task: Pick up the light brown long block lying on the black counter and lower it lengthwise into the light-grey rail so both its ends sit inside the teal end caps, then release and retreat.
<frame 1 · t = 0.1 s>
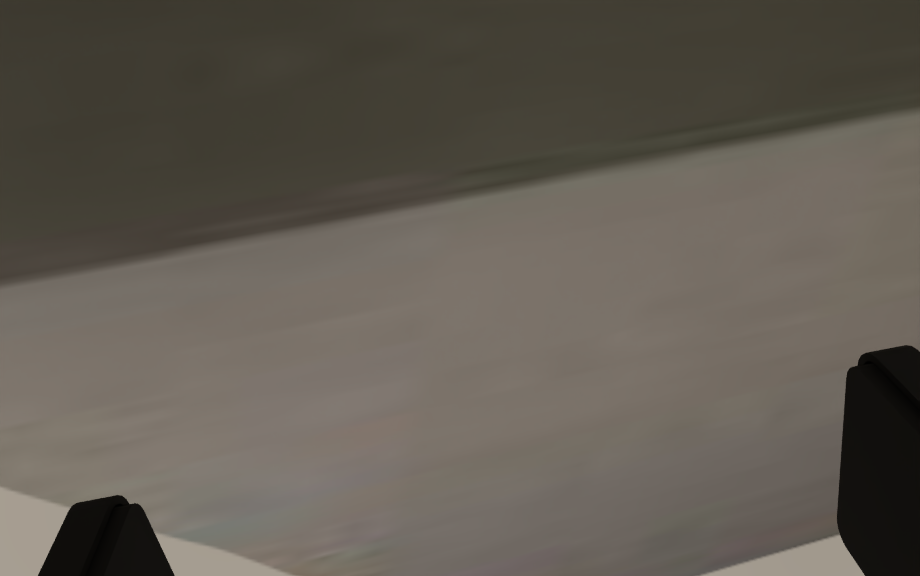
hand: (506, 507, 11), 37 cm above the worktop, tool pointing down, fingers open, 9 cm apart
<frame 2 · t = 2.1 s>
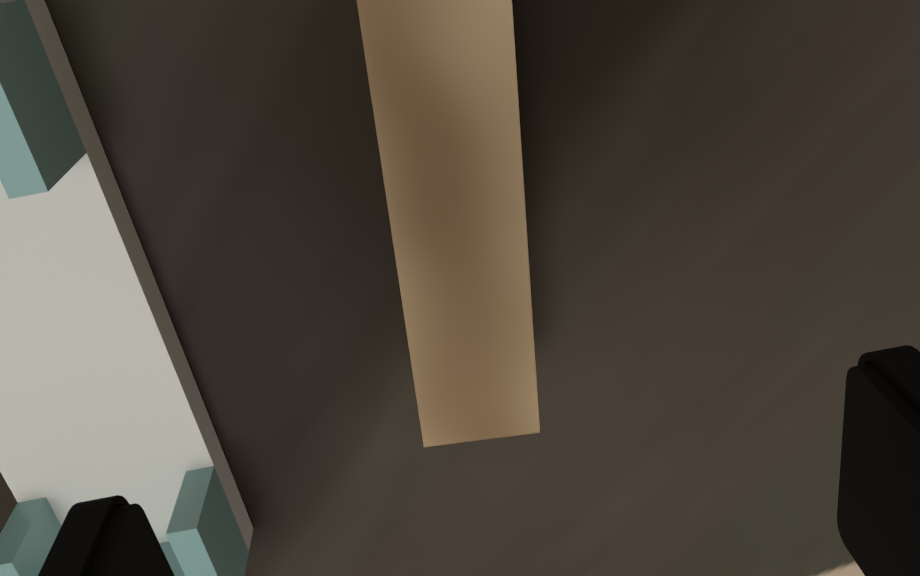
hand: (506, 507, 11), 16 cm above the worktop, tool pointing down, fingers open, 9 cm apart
light brown long block: (443, 131, 25), on the worktop
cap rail: (61, 327, 27), on the worktop
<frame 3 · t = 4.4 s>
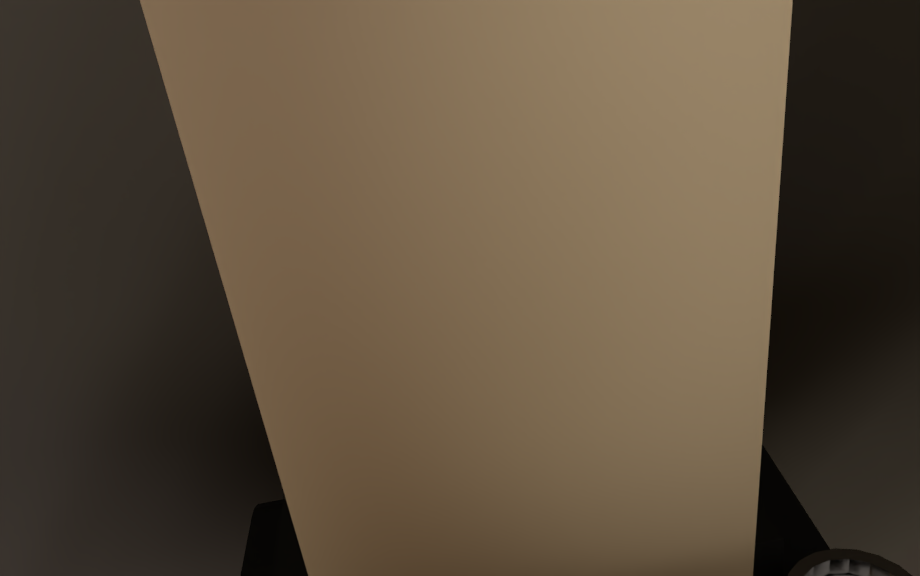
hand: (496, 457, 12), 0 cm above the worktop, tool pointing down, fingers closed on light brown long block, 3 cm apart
light brown long block: (494, 440, 12), on the worktop, touching gripper
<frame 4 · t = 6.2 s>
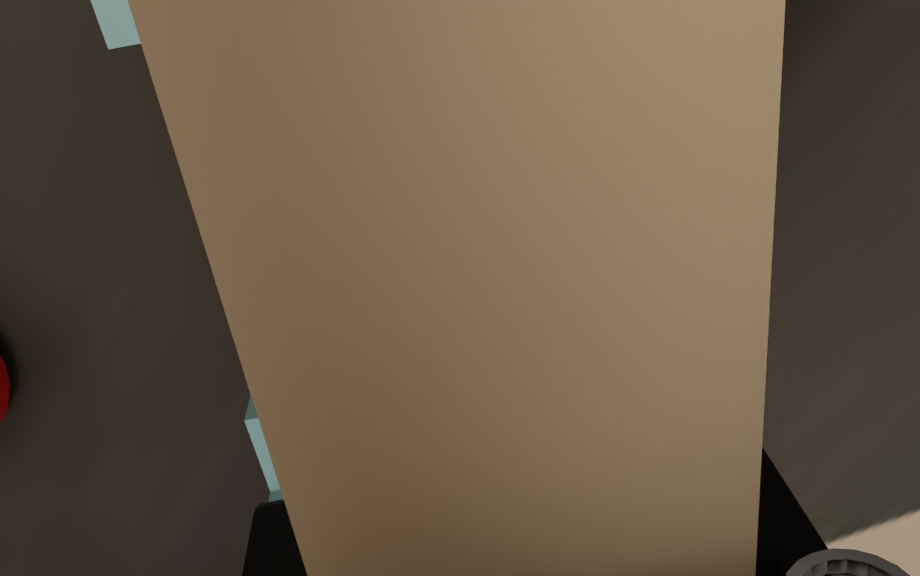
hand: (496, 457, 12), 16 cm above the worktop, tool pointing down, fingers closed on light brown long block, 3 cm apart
light brown long block: (497, 442, 12), point 16 cm above the worktop, touching gripper
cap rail: (319, 180, 27), on the worktop
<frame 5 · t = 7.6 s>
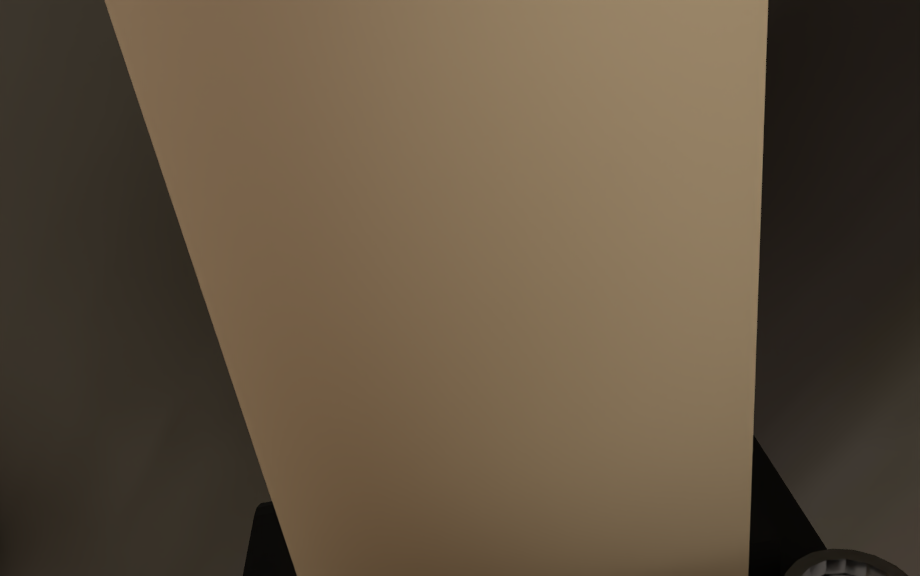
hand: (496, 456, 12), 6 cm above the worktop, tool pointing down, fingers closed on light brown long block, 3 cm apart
light brown long block: (494, 445, 12), point 6 cm above the worktop, touching gripper
when the fingers open (3 cm above the worktop, at t = 8.6 s): light brown long block stays where it is, resting on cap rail.
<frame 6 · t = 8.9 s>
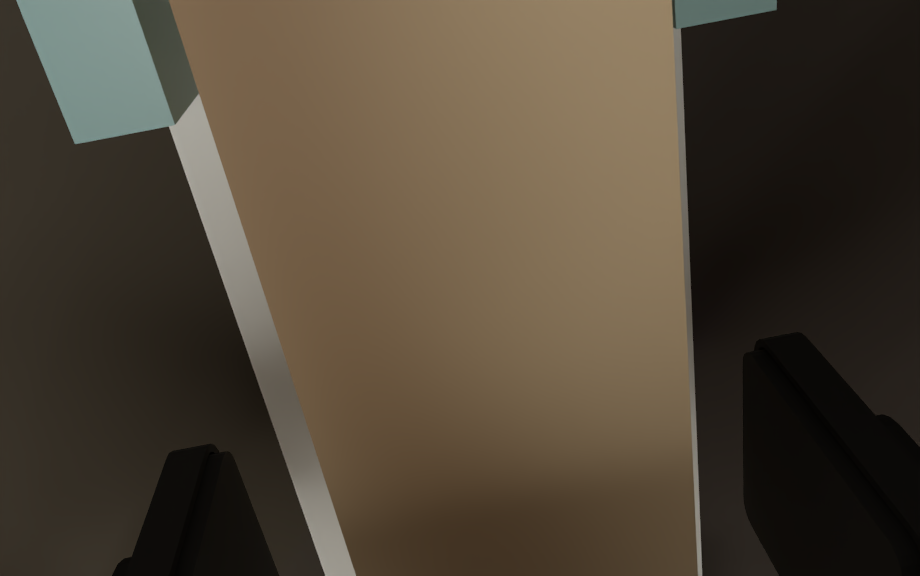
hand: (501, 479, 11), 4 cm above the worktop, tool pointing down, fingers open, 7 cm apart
light brown long block: (488, 378, 13), point 1 cm above the worktop, touching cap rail
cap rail: (475, 345, 15), on the worktop
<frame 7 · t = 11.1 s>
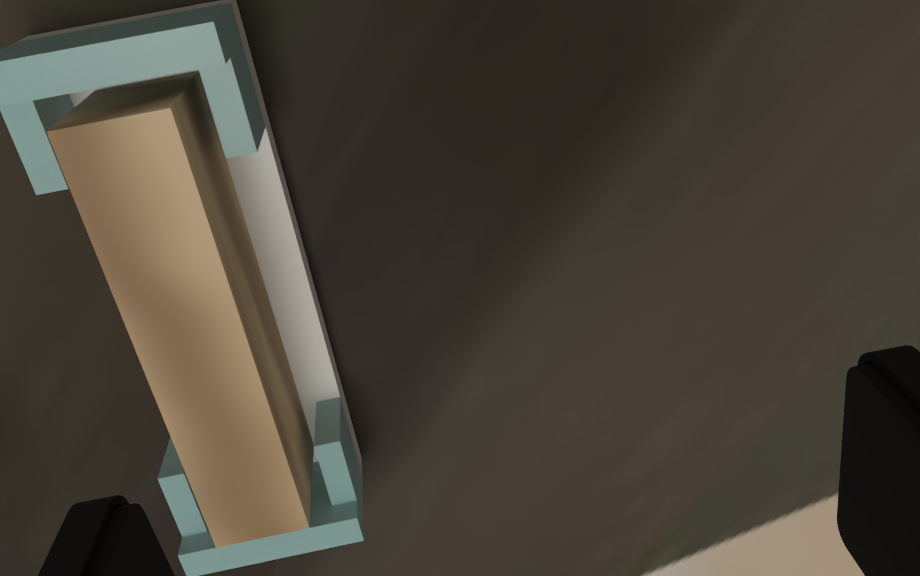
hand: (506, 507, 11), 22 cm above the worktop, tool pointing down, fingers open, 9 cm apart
light brown long block: (217, 289, 31), point 1 cm above the worktop, touching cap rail
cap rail: (219, 277, 32), on the worktop
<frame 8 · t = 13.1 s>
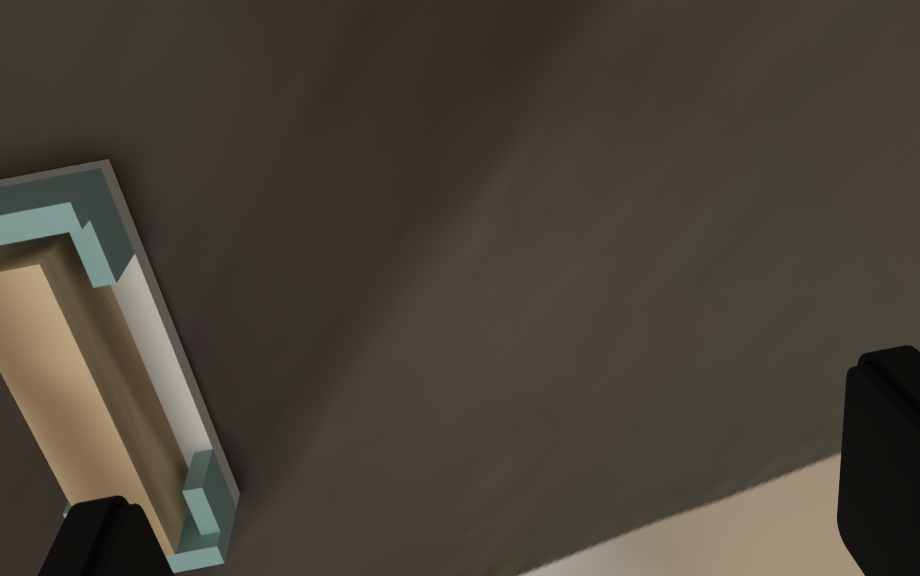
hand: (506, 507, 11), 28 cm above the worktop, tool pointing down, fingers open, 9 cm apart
light brown long block: (108, 369, 40), point 1 cm above the worktop, touching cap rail
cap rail: (113, 357, 42), on the worktop
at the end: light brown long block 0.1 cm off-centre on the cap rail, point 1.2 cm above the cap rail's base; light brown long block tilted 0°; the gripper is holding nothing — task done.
